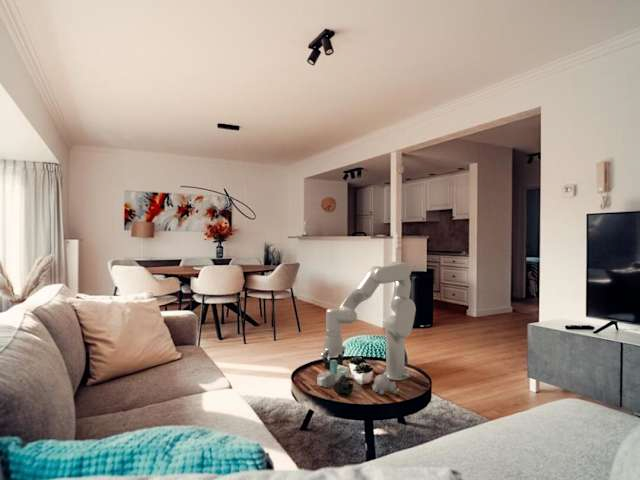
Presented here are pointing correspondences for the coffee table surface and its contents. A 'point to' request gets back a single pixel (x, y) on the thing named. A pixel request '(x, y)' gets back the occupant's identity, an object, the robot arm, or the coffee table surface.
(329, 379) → the sleeve
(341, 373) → the socket block
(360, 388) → the coffee table surface
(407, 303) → the robot arm
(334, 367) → the slip tube
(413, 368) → the coffee table surface
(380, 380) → the chubby cartoon animal
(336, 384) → the end cap
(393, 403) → the coffee table surface
